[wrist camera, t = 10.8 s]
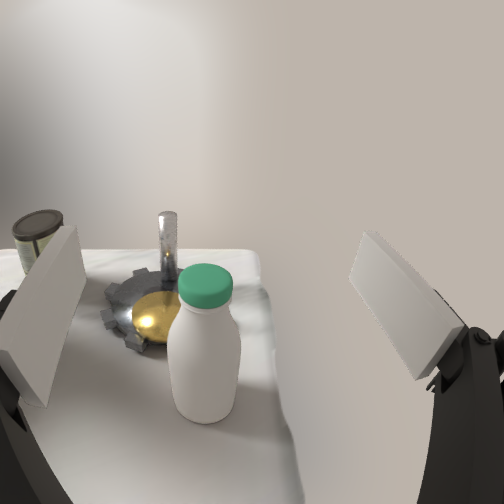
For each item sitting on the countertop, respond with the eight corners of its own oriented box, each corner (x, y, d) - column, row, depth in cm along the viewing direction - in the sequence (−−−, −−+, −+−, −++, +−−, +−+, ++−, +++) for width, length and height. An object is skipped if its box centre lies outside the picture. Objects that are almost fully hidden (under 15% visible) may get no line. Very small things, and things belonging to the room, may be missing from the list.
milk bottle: (245, 411, 34) (270, 290, 24) (191, 434, 30) (180, 319, 20) (215, 369, 39) (223, 245, 29) (164, 388, 35) (147, 262, 25)
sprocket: (123, 371, 35) (101, 291, 28) (92, 289, 48) (79, 219, 41) (240, 327, 46) (251, 251, 39) (185, 264, 59) (186, 199, 52)
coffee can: (47, 268, 52) (33, 207, 45) (84, 275, 52) (72, 210, 45) (22, 298, 43) (1, 232, 36) (60, 308, 43) (40, 238, 36)
